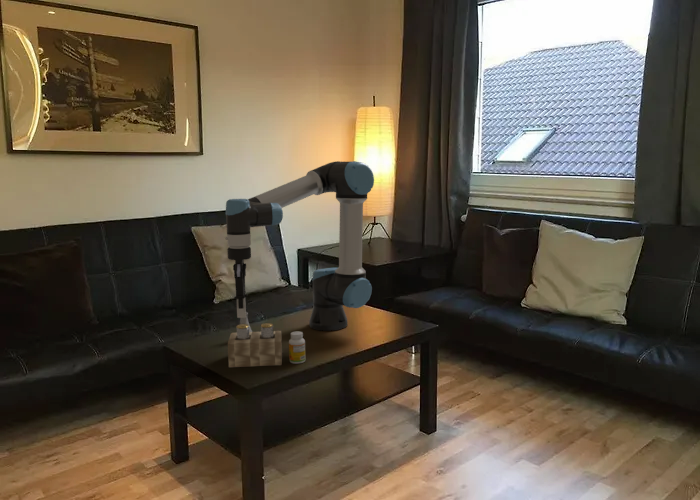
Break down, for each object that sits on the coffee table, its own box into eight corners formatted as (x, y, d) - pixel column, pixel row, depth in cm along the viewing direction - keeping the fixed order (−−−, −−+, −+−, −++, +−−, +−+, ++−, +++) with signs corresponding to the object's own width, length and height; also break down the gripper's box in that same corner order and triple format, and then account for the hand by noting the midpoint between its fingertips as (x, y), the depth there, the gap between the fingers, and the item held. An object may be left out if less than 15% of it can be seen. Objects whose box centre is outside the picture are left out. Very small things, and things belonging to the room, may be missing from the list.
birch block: (281, 352, 215) (281, 330, 214) (281, 364, 203) (280, 341, 202) (232, 355, 214) (231, 332, 212) (228, 367, 202) (227, 343, 200)
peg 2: (274, 345, 210) (273, 322, 209) (273, 349, 206) (272, 326, 205) (262, 346, 210) (261, 323, 209) (261, 350, 206) (260, 326, 205)
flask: (250, 342, 227) (249, 316, 226) (231, 341, 229) (230, 315, 227) (257, 336, 234) (256, 311, 233) (239, 335, 236) (238, 310, 234)
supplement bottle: (289, 358, 209) (288, 330, 208) (305, 358, 210) (304, 330, 208) (289, 364, 204) (288, 335, 202) (305, 363, 204) (304, 335, 203)
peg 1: (250, 346, 210) (249, 323, 208) (249, 350, 206) (248, 327, 204) (238, 347, 209) (237, 324, 208) (237, 351, 205) (236, 327, 204)
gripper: (229, 243, 208) (231, 312, 211) (225, 250, 195) (228, 322, 199) (251, 243, 208) (254, 311, 212) (249, 249, 196) (251, 322, 199)
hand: (241, 317), depth 205 cm, fingers closed
